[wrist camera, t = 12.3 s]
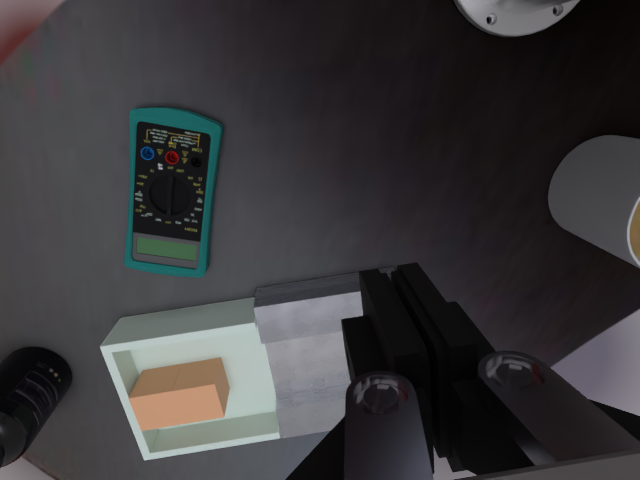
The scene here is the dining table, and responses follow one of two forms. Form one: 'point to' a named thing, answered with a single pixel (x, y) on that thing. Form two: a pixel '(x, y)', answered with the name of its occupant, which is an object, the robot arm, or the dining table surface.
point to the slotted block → (308, 348)
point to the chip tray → (190, 346)
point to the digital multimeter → (171, 190)
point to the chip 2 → (201, 390)
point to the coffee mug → (601, 194)
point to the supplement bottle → (28, 398)
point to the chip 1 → (156, 398)
